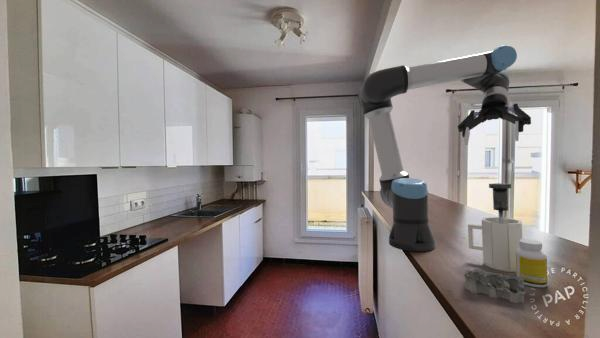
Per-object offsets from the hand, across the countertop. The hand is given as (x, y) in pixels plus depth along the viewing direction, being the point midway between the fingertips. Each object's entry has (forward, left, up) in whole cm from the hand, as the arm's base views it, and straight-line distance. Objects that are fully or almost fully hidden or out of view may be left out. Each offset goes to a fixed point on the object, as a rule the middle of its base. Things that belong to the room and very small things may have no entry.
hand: (489, 140), depth 84 cm
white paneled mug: (+2, -18, -36) cm, 40 cm away
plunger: (+4, -18, -33) cm, 38 cm away
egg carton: (+4, -35, -36) cm, 51 cm away
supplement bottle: (+10, -26, -36) cm, 45 cm away
